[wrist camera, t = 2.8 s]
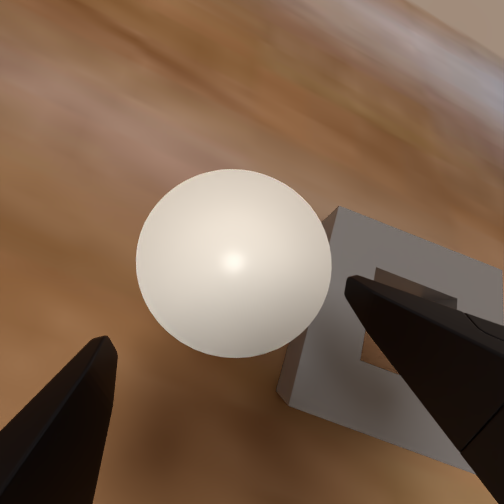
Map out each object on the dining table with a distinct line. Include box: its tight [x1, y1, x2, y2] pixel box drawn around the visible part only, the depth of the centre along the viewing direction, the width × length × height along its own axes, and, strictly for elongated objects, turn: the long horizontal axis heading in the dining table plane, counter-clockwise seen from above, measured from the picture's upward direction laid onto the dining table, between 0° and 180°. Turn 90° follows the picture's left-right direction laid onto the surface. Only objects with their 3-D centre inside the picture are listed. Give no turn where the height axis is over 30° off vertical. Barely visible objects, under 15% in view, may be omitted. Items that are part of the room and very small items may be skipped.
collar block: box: [276, 206, 504, 474], centre depth 17 cm, size 14×14×3 cm
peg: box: [136, 169, 332, 358], centre depth 11 cm, size 5×5×12 cm
